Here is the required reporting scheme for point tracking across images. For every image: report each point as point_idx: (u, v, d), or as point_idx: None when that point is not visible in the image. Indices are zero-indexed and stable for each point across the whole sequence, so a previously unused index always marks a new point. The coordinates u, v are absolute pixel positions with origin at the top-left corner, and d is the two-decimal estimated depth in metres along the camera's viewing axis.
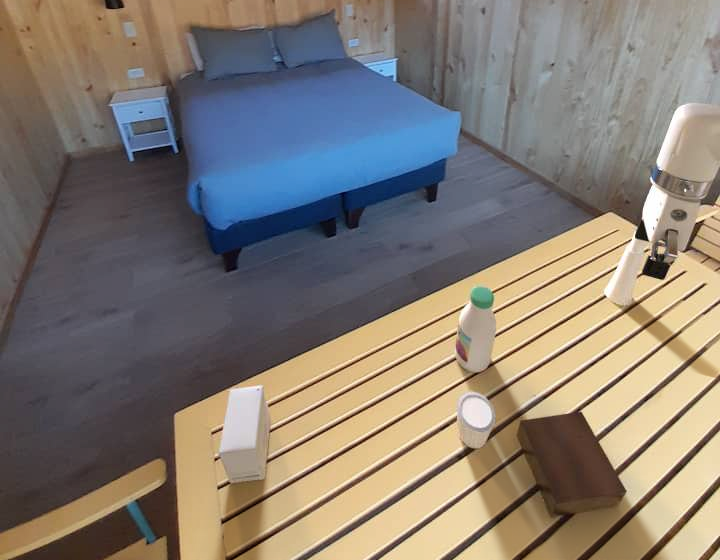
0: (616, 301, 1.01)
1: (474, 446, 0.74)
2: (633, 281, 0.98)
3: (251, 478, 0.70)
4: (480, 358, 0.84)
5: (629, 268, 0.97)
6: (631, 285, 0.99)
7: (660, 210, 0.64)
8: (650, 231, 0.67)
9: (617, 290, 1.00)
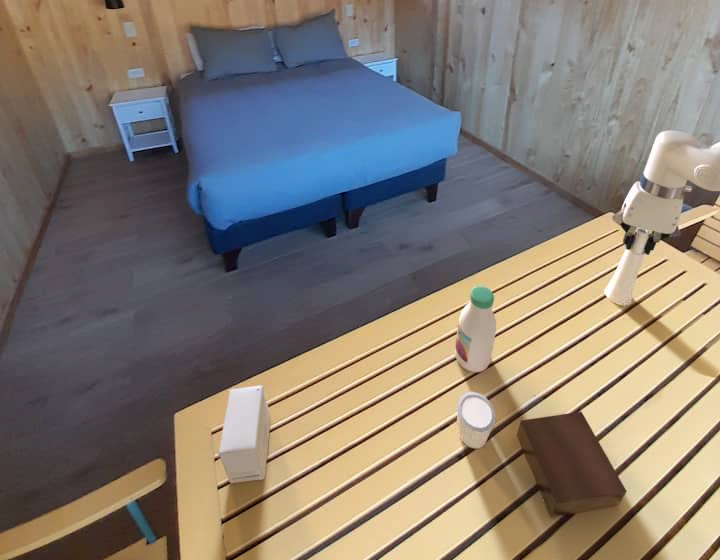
0: (616, 301, 1.01)
1: (474, 446, 0.74)
2: (633, 281, 0.98)
3: (251, 478, 0.70)
4: (480, 358, 0.84)
5: (629, 268, 0.97)
6: (631, 285, 0.99)
7: (678, 211, 0.86)
8: (667, 228, 0.89)
9: (617, 290, 1.00)
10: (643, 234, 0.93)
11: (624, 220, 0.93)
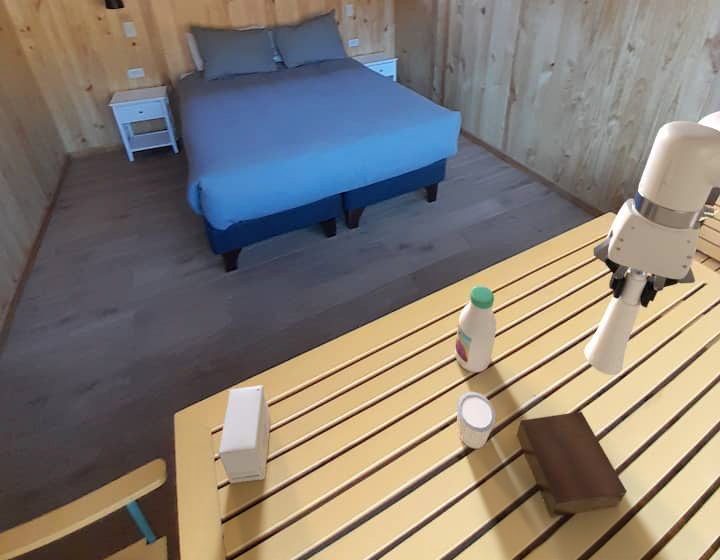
0: (600, 368, 0.70)
1: (474, 446, 0.74)
2: (624, 342, 0.67)
3: (251, 478, 0.70)
4: (480, 358, 0.84)
5: (618, 324, 0.66)
6: (621, 348, 0.68)
7: (691, 247, 0.56)
8: (674, 271, 0.58)
9: (602, 353, 0.70)
10: (638, 277, 0.62)
11: (610, 256, 0.62)
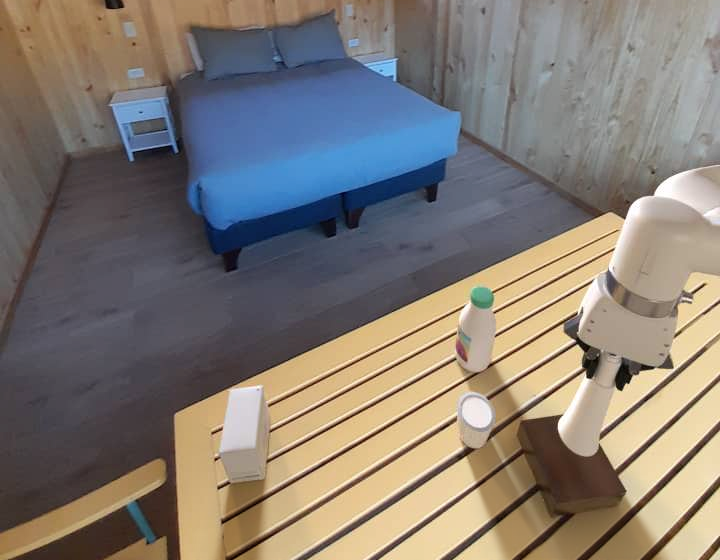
0: (574, 449, 0.64)
1: (474, 446, 0.74)
2: (599, 424, 0.61)
3: (251, 478, 0.70)
4: (480, 358, 0.84)
5: (592, 406, 0.60)
6: (596, 429, 0.61)
7: (668, 335, 0.49)
8: (651, 358, 0.52)
9: (575, 433, 0.63)
10: (612, 359, 0.56)
11: (580, 337, 0.55)
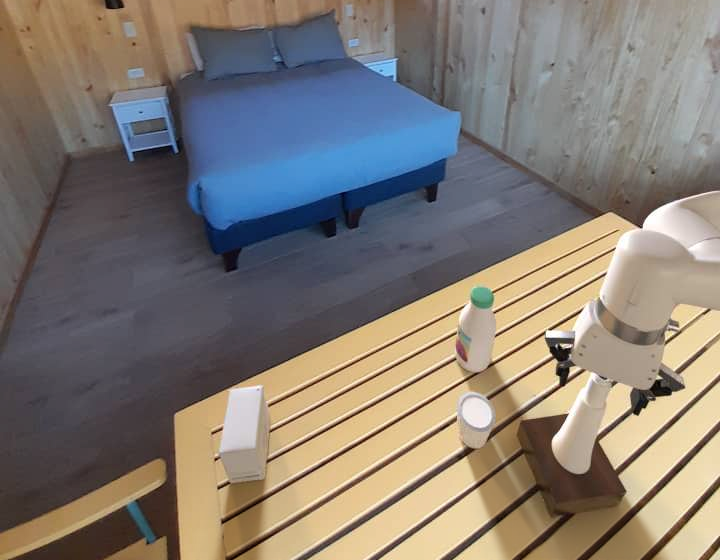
0: (567, 466, 0.67)
1: (474, 446, 0.74)
2: (590, 443, 0.64)
3: (251, 478, 0.70)
4: (480, 358, 0.84)
5: (583, 426, 0.62)
6: (588, 448, 0.64)
7: (656, 361, 0.52)
8: (639, 382, 0.54)
9: (568, 452, 0.66)
10: (602, 383, 0.58)
11: (572, 360, 0.58)
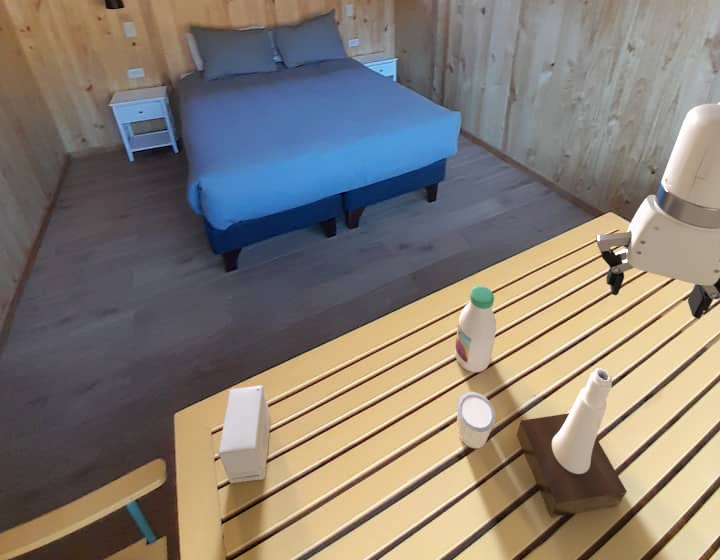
0: (567, 466, 0.67)
1: (474, 446, 0.74)
2: (590, 443, 0.64)
3: (251, 478, 0.70)
4: (480, 358, 0.84)
5: (583, 426, 0.62)
6: (588, 448, 0.64)
7: None
8: (704, 276, 0.51)
9: (568, 452, 0.66)
10: (603, 383, 0.58)
11: (629, 261, 0.54)
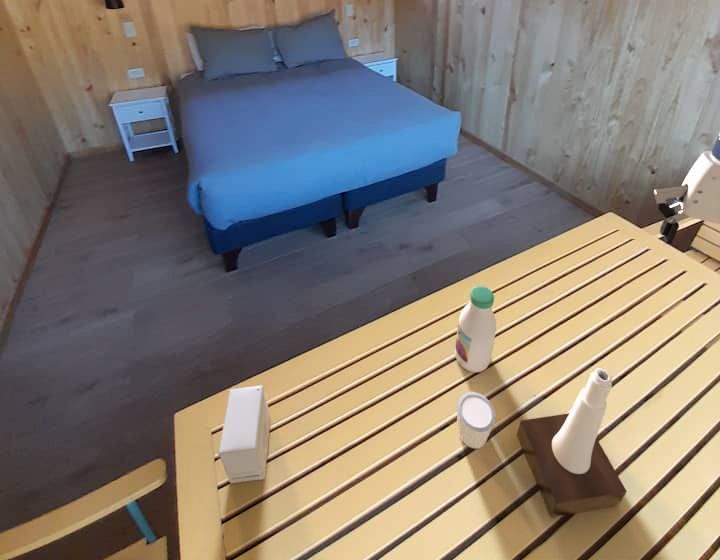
0: (567, 466, 0.67)
1: (474, 446, 0.74)
2: (591, 443, 0.64)
3: (251, 478, 0.70)
4: (480, 358, 0.84)
5: (583, 426, 0.62)
6: (588, 448, 0.64)
7: None
8: None
9: (568, 452, 0.66)
10: (603, 383, 0.58)
11: (685, 210, 0.61)
